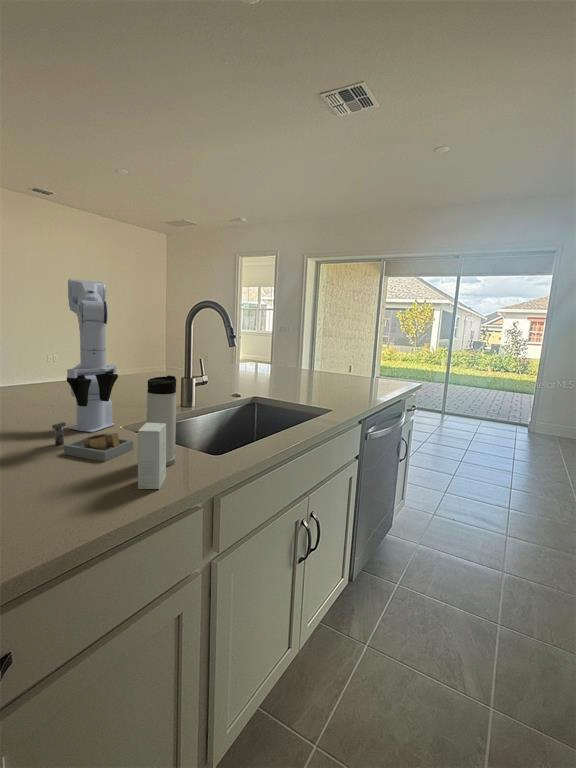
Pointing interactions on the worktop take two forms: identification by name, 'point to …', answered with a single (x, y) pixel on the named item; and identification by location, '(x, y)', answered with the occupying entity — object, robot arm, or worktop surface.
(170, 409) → the travel mug
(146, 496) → the worktop surface
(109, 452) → the tray
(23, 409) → the worktop surface
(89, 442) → the ring
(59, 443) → the bolt
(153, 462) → the skincare box
